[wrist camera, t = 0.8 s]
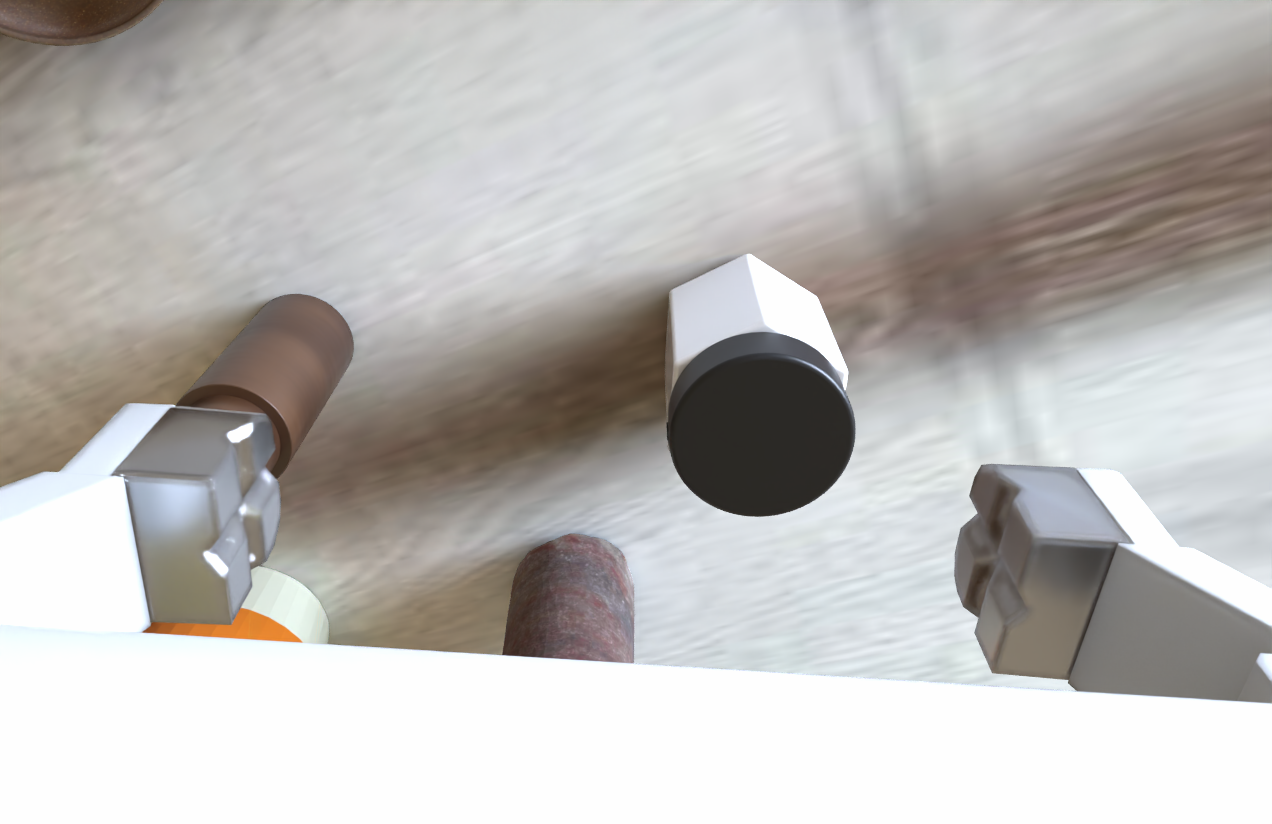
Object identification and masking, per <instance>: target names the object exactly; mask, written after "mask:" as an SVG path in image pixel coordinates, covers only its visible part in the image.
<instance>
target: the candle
mask: <svg viewBox="0 0 1272 824" xmlns="http://www.w3.org/2000/svg"><path fill="white" fill-rule="evenodd" d="M502 655H506V656H522V657H538V658H554V659H570V660H586V661H602V662H618V663H634V584H633V579H632V575H631V572H630V570H629V567H628V565H627V562H626V560H625V557H624V556H623V554H622V553H621V551H620V550H619V549H618V548H617V547H615V546H614V545H613V544H611V543H609V542H607V541H606V540H603V539H599V538H595V537H589V536H586V535H580V534H568V535H565V536H562V537H560V538H558V539H556V540H554V541H549V542H547V543H546V544H544V545H541V546H539V547H537V548H535V549H533V550H532V551H530V552H529V553H528V554H527V556H526V557H525V558H524V559H523V560H522V562H521V563H520V564H519V566H518V569H517V572H516V575H515V577H514V581H513V585H512V591H511V599H510V605H509V611H508V618H507V625H506V633H505V640H504V647H503V654H502Z"/></svg>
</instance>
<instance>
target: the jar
mask: <svg viewBox="0 0 1272 824" xmlns="http://www.w3.org/2000/svg"><path fill="white" fill-rule="evenodd" d="M847 378H848V369H847V367H846V365H845V362H844V360H843V357H842V355H841V353H840V350H839V348H838V345H837V343H836V341H835V338H834V336H833V333H832V331H831V329H830V326H829V324H828V321H827V319H826V316H825V314H824V312H823V309H822V307H821V304H820V302H819V300H818V298H817V297H816V296H815V295H814V294H812V293H810V292H809V291H807V290H806V289H804V288H803V287H801V286H799V285H798V284H796V283H795V282H793V281H792V280H790V279H788V278H787V277H785V276H784V275H782V274H781V273H779V272H777V271H776V270H774V269H773V268H771V267H770V266H768V265H766V264H765V263H763V262H762V261H760V260H759V259H757V258H756V257H754V256H752V255H751V254H745V255H743V256H741V257H739V258H736V259H734V260H732V261H730V262H728V263H726V264H724V265H722V266H720V267H718V268H716V269H714V270H712V271H709V272H707V273H705V274H703V275H701V276H699V277H697V278H695V279H693V280H691V281H689V282H687V283H684V284H682V285H680V286H678V287H676V288H674V289H672V290H671V291H670V293H669V306H668V321H667V337H666V352H665V390H666V414H667V440H668V449H669V451H670V453H671V457H672V460H673V463H674V466H675V468H676V470H677V472H678V474H679V476H680V477H681V479H682V480H683V482H684V483H685V484H686V485H687V487H688V488H689V489H690V490H691V491H692V492H693V493H694V494H695V495H696V496H698V497H699V498H700V499H702V500H703V501H705V502H706V503H708V504H710V505H712V506H714V507H716V508H718V509H720V510H723V511H726V512H729V513H732V514H737V515H743V516H755V517H761V516H772V515H779V514H783V513H787V512H790V511H793V510H796V509H798V508H801V507H803V506H805V505H807V504H809V503H811V502H812V501H814V500H815V499H817V498H818V497H820V496H821V495H822V494H824V493H825V492H826V491H827V490H828V489H829V488H830V487H831V486H832V485H833V484H834V483H835V482H836V481H837V480H838V478H839V477H840V476H841V474H842V473H843V471H844V470H845V468H846V466H847V464H848V462H849V460H850V457H851V454H852V451H853V447H854V442H855V419H854V414H853V410H852V407H851V404H850V402H849V399H848V396H847V394H846V391H845V390H846V384H847Z"/></svg>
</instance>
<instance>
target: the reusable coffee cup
mask: <svg viewBox="0 0 1272 824" xmlns="http://www.w3.org/2000/svg"><path fill="white" fill-rule="evenodd" d="M251 577H252V586H253V587H252V588H251V590H250V592H249V594H248V596H247V597H246V599H245V601H244V603H243V605H242V606H241V608H240V610H239V612H238V614H237V615H236V617H235V619H234V621H233V623H232V625H217V624H189V623H162V622H153V623H151V626H150V627H149V628H147V629H146V630H144V631H143V632H142V633H155V634H171V635H187V636H203V637H219V638H235V639H251V640H267V641H283V642H299V643H315V644H328V639H329V623H328V619H327V616H326V613H325V611H324V609H323V607H322V605H321V603H320V602H319V601H318V599H317V598H316V597H315V596H314V595H313V593H312V592H311V591H310V590H308V589H307V588H306V587H305V586H304V585H302V584H301V583H300V582H298V581H297V580H295V579H293V578H292V577H290V576H288V575H286V574H283V573H281V572H278V571H276V570H273V569H269V568H264V567H260V566H257V567H255V568H254V569H252V570H251Z"/></svg>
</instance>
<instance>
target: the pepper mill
mask: <svg viewBox="0 0 1272 824" xmlns="http://www.w3.org/2000/svg"><path fill="white" fill-rule="evenodd" d="M353 350H354V344H353V337H352V334H351V331H350V329H349V326H348V325H347V323H346V321H345V320H344V318H343V317H342V316H341V315H340V314H339V312H338V311H337V310H335V309H334V308H333V307H332V306H330V305H329V304H327V303H326V302H324V301H322V300H320V299H318V298H315V297H312V296H308V295H302V294H290V295H284V296H280V297H278V298H275V299H273V300H272V301H270V302H268V303H267V304H266V305H265V306H264V307H263V308H262V309H261V310H260V311H259V312H258V313H257V314H256V316H255V317H254V318H253V319H252V320H251V321H250V322H249V323H248V325H247V326H246V327H245V328H244V329H243V330H242V331H241V332H240V333H239V335H238V336H237V337H236V338H235V339H234V340H233V341H232V342H231V343H230V345H229V346H228V347H227V348H226V349H225V350H224V351H223V352H222V354H221V355H220V356H219V357H218V358H217V359H216V360H215V361H214V362H213V364H212V365H211V366H210V367H209V368H208V369H207V370H206V371H205V372H204V374H203V375H202V376H201V377H200V378H199V379H198V380H197V381H196V383H195V384H194V385H193V386H192V387H191V388H190V389H189V390H188V391H187V393H186V394H185V395H184V396H183V397H182V398H181V399H180V400H179V402H178V403H177V404H176V406H177V407H178V406H184V407H195V408H207V409H218V410H230V411H241V412H252V413H264V414H266V415H267V416H268V418H269V419H270V421H271V423H272V427H273V434H274V441H275V451H274V452H273V454H272V455H271V457H270V459H269V460H268V462H267V464H266V465H265V467H266V468H267V469H268V471H269V472H270V473H271V474H272V475H273V476H274V477H275V479H277V478H278V477H279V476H280V475H281V474H282V473H283V472H284V471H285V469H286V468H287V466H288V465H289V463H290V461H291V460H292V458H293V457H294V455H295V453H296V452H297V450H298V448H299V447H300V445H301V443H302V442H303V440H304V439H305V437H306V435H307V434H308V432H309V430H310V429H311V427H312V425H313V424H314V422H315V420H316V419H317V417H318V416H319V414H320V412H321V411H322V409H323V407H324V406H325V404H326V402H327V401H328V399H329V398H330V396H331V394H332V393H333V391H334V389H335V388H336V386H337V384H338V383H339V381H340V379H341V378H342V376H343V375H344V373H345V371H346V370H347V368H348V366H349V364H350V362H351V360H352V356H353Z"/></svg>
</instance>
